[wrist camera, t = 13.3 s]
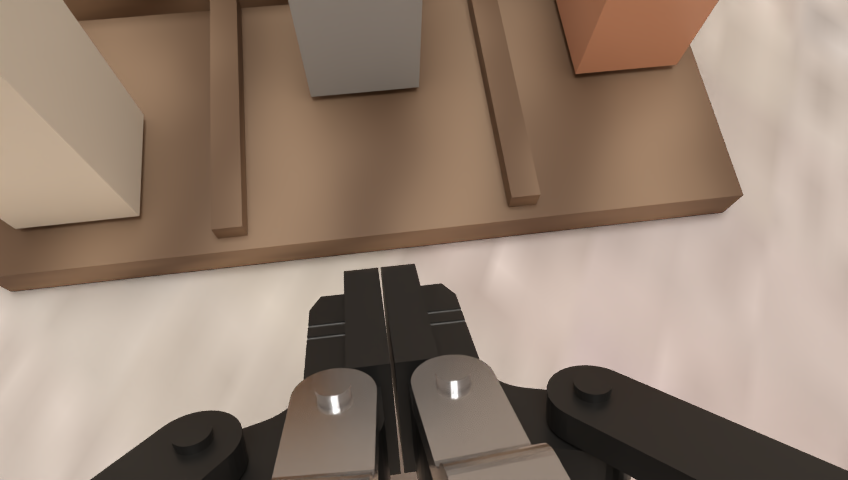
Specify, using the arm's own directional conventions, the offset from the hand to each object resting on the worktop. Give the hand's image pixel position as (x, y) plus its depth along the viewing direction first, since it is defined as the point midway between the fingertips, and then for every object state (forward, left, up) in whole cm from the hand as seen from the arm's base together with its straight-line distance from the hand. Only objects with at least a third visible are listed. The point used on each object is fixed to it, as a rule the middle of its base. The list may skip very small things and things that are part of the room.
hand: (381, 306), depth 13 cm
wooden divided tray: (+5, +8, -8) cm, 13 cm away
